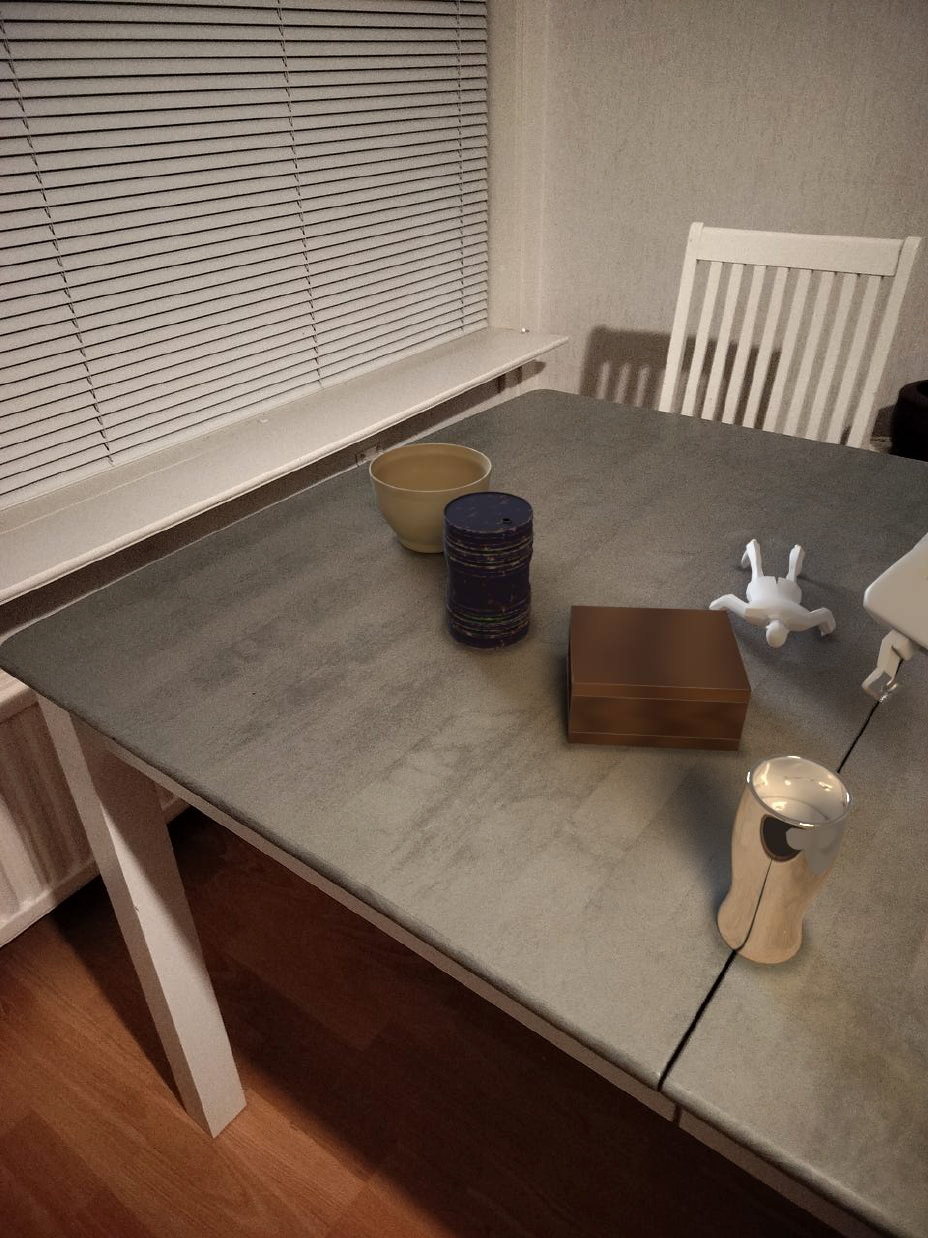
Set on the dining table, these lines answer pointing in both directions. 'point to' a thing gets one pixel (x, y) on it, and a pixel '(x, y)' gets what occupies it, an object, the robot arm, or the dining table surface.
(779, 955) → the beer glass
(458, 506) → the dark blue oil drum
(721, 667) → the wooden keepsake box
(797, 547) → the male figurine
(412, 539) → the planter bowl
